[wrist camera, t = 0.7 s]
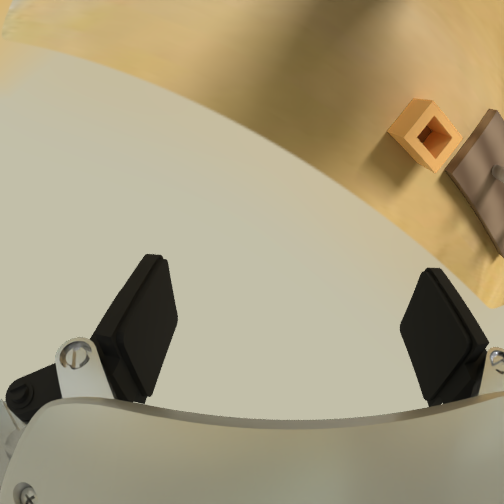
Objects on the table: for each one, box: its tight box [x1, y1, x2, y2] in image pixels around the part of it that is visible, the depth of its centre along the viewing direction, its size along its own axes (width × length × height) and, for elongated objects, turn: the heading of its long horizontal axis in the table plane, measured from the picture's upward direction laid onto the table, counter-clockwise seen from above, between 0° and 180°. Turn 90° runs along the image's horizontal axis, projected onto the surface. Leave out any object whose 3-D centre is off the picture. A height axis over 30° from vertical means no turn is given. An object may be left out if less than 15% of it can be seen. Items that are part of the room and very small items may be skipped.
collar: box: [387, 99, 463, 173], centre depth 27 cm, size 6×6×5 cm
